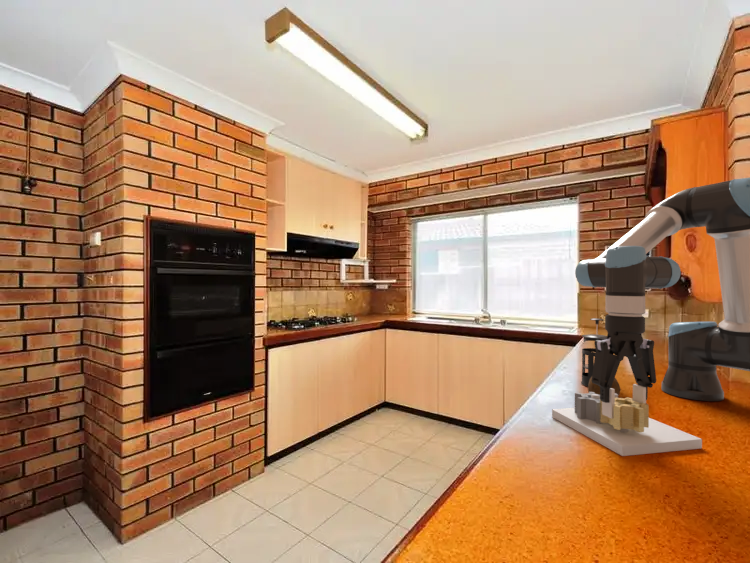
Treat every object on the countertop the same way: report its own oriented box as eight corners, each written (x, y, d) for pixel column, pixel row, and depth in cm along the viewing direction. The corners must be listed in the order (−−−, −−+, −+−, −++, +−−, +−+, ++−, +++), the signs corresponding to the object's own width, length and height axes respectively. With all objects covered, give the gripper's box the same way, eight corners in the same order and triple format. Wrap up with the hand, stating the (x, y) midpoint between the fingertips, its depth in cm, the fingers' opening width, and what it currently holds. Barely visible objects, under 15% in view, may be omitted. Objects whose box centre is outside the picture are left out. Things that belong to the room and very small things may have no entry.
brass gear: (609, 414, 90) (609, 393, 90) (652, 424, 84) (652, 402, 84) (595, 423, 84) (595, 401, 84) (640, 435, 78) (640, 411, 78)
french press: (604, 391, 121) (605, 320, 120) (574, 384, 128) (575, 318, 128) (619, 385, 127) (620, 318, 127) (590, 379, 135) (591, 316, 135)
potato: (623, 398, 114) (624, 369, 114) (617, 408, 105) (617, 377, 105) (592, 392, 120) (592, 365, 119) (584, 401, 111) (584, 372, 110)
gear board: (617, 412, 102) (617, 384, 101) (701, 448, 80) (702, 413, 80) (552, 416, 98) (552, 388, 98) (622, 456, 76) (622, 419, 76)
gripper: (647, 312, 90) (646, 407, 90) (573, 313, 86) (572, 412, 86) (678, 315, 82) (677, 418, 82) (598, 316, 78) (597, 424, 79)
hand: (623, 415), depth 84 cm, fingers closed on brass gear, 7 cm apart
